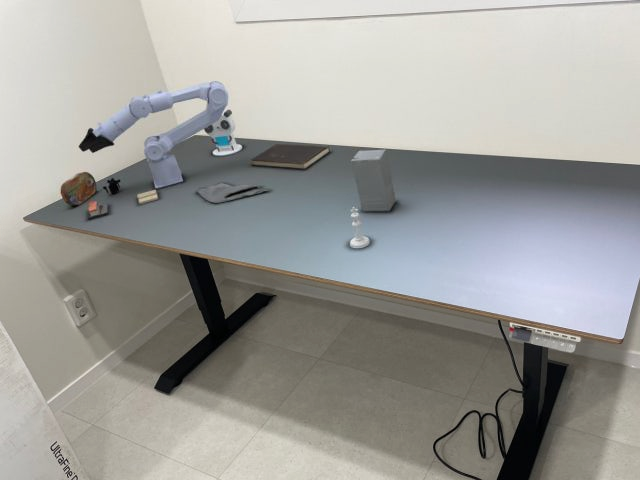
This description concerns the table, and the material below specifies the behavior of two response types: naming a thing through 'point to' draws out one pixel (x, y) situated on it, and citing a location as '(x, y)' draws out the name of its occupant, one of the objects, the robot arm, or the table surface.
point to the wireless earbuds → (112, 185)
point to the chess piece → (358, 232)
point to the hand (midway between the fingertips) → (85, 149)
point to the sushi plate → (97, 210)
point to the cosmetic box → (373, 180)
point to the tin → (78, 188)
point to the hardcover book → (290, 156)
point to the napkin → (147, 196)
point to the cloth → (228, 192)
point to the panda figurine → (223, 135)
